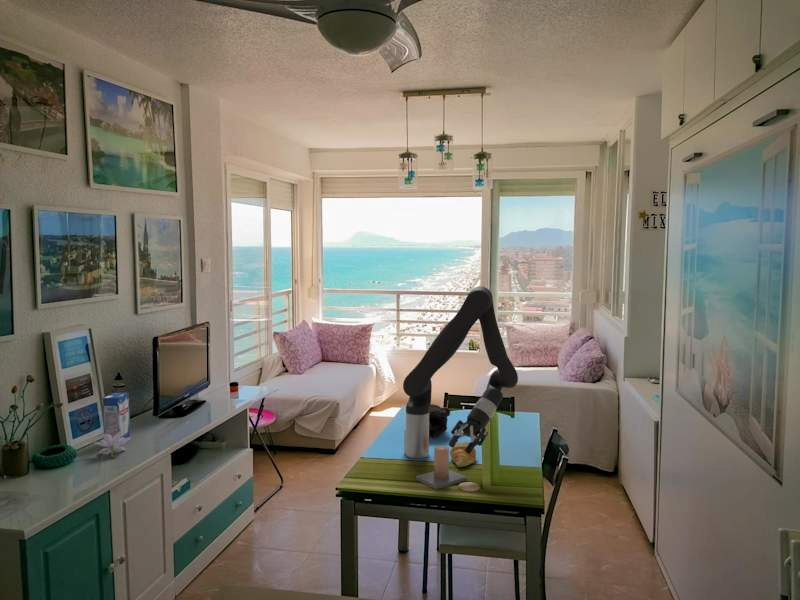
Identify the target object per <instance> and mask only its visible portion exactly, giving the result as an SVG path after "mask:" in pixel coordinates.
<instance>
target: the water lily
mask: <svg viewBox="0 0 800 600" xmlns="http://www.w3.org/2000/svg"><path fill="white" fill-rule="evenodd" d="M121 436H122V431H120V432H118V433H117V434H116V435H115V436H114V437H113V439H112V437H111V435H110V434H104V433H102V438H103V439H101V442H99V441H95V442H93V444H95V445H96V446H100V447H103V449H100V450H99V451H98V453H97V454H98V455H101V454H105V453H107V452H108V451H110V450H111V451H110V454H111V458H114V450H116V451H119V452H126V448H125V447H122V445H124V444H125V443H127V442H129V441H130V440H131V439H132V437H131V436H130V437H128V438H124V437H123V438H121ZM120 438H121V439H120Z"/></svg>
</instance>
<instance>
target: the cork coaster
mask: <svg viewBox="0 0 800 600" xmlns="http://www.w3.org/2000/svg"><path fill="white" fill-rule="evenodd" d="M458 489H459V490H461V491H463V492H468V493H469V492H473V493H474V492H476V491H479V490H480V484H478V483H476V482H472V481H469V482H468V481H466V482H465V481H462V482H459V483H458Z"/></svg>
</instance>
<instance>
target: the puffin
mask: <svg viewBox="0 0 800 600" xmlns="http://www.w3.org/2000/svg"><path fill="white" fill-rule="evenodd" d="M450 415H451V411H450V409H449V407H447V406H446V407H441V406H439V405H436V404H432V403H431V404H430V408H429V440H431V439H434V437H437V436H441V434H443V433H445V432H447V430H448V426H447V425H448V417H449V416H450Z"/></svg>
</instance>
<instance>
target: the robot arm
mask: <svg viewBox="0 0 800 600" xmlns="http://www.w3.org/2000/svg"><path fill="white" fill-rule="evenodd" d="M496 318H497V317H496V314H495V307H494V299H493V293H492V292H491V290H489V288H488V287H486V286H484V285H483V286H482V285H481V286H476V287H474V288H472V289H471V290H470V291H469V292H468V294H467V295H466V297H465V300H464V301H463V303H462V305H461V306H460V308H459V310H458V311H457V313H456V314H455V316H454V317H453V318H452V319H451V320H450V321H449V322H448V323H447V324H446V325H445V326H444V327H443V328H442V329H441V330H440V332H439V333H438V334H437V336H436V337H435V338H434V340H433V342H431V345H430V346H429V347H428V348H427V350H426V352H425V354H424V355H423V356H422V358H421V359H420V361H419V362H418V363H417V364H416V366H415V367H414V368H413V369H412V370H411V371H410V372H409V373H408V374H407V375H406V376H405V377H404V380H403V385H402V388H403V391H404V393H405V395H407V396H408V397H409V398H408V401H407V403H406V405H405V429H404V431H403V432H404V433H403V435H404V436H403V437H404V438H403V439H404V440H403V441H404V442H403V444H404V445H403V446H404V447H403V448H404V449H403V450H404V451H403V452H404V454H405V456H406V457H409V458H411V459H425V458H427V457H429V455H430V439H429V408H430V404H432V403H431V402H432V388H433V387H432V378H433V376H434V375H435V374H436V373H437V371H439V370H440V369H441V368H442V367H443V366H444V365H445V364H447V362H449V361H450V359H451V358H453V356H454V355H455V353H456V352H458V350H459V349H460V347H461V346H462V344H463V343H464V341H465V339H466V338H467V336H468V334H469V331H470V330H471V329H472V328H473V326H474V324H476V322H477V321H478V320H479V324H480V327H481V332H482V339H483V344H484V345H483V346H484V348H485V353H486V354H487V358H488V361H489V363H490V364H491V365H492V366H495V367H496V369H495V370H494V371H493V372H492V373H491V375H490V377H489V379H488V383H487V384H486V385H487V386H486V389H485V390H484V391H483V393H482V395H481V397H480V398H479V399H478V401H476V403H475V404H474V406H473V407H472V409H471V410H470V412H469V413H468V414H467V417H466V418H467V419H466V421H465V422H463V421H462V420H461V419H459V420H458V421H457V423H456V424H455V425H454V427H453V428H452V430H450V433H451V435H452V437H451V439H450V440H449V443H448V446H449V447H450V448H451V449H452V448H453V447H454V446H455V445H457V444H458V443H457V442H458V441H459V439H461V438H464V437H469V438H470V442H468V443H469V444H468V446H467V447H466V449H465V452H466V453H467V454H470V453H471V452H472V450H473V449H474V448H476V447H477V446H479V447H481V446H482V445H483V443H484V442H485V440H486V438H487V436H488V434H489V432H488V429H486V427H487V425H488V424H489V422H490V421H491V419H492V418H493V416H494V414H495V413H496V411H497V408H498V407H499V405H500V404H501V402H502V400H503V399H504V394H503V393H502V390H503V388H505V389H512V388H515V386H517V384H518V381H519V376H518V372H517V370H516V367H515V366H514V365H513V363H512V361H511V360H510V357H508V353H507V349H506V346H505V344H504V340H503V338H502V334H501V332H500V329H499V326H498V323H497V322H498V321H497V319H496Z"/></svg>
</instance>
